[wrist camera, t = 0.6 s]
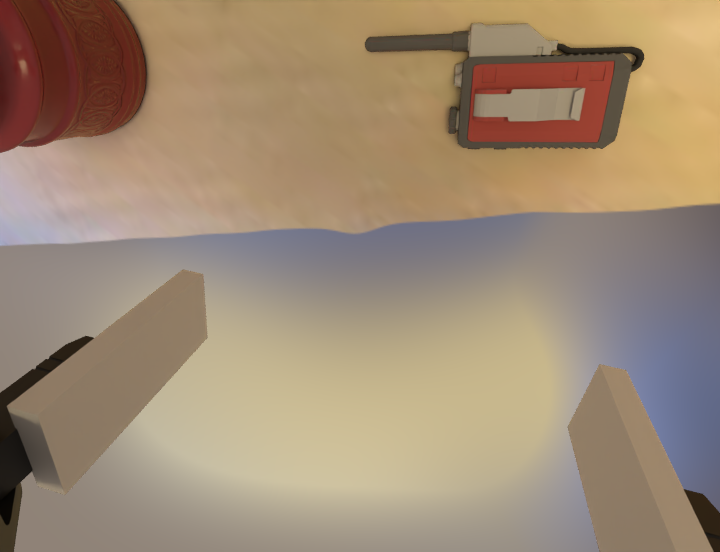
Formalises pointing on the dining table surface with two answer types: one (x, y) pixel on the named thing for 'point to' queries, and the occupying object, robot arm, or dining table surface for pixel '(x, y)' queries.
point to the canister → (66, 70)
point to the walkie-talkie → (528, 87)
